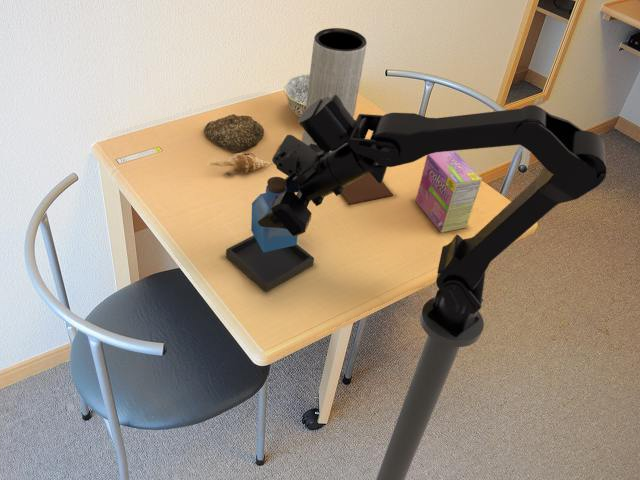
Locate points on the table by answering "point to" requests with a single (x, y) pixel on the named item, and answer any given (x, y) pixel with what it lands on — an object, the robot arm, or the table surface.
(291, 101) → the bowl
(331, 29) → the planter
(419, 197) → the box
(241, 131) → the bread roll
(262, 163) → the spiral seashell
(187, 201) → the table surface
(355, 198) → the mat
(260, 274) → the tray
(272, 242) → the perfume bottle
